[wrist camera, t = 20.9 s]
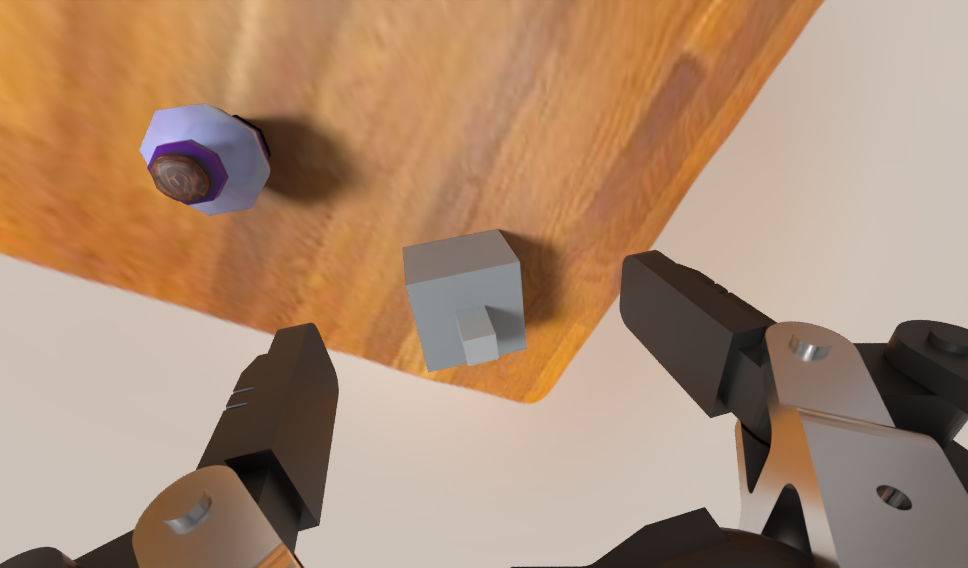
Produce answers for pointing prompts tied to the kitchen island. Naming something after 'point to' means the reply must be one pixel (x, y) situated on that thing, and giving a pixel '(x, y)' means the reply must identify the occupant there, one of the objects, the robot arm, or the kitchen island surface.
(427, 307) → the grey block
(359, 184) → the kitchen island surface
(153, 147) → the potion bottle
